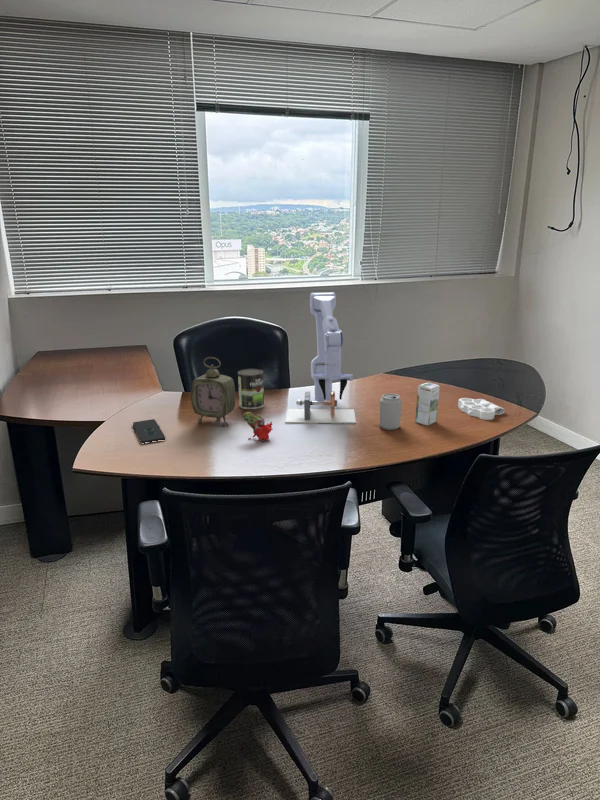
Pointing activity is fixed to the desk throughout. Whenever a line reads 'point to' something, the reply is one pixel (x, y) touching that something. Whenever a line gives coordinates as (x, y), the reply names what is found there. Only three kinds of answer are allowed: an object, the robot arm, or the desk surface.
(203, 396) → the tabletop clock
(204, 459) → the desk surface
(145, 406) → the desk surface
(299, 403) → the bolt with copper washer
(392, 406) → the can
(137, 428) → the black flat block
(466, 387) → the desk surface
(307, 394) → the square hole plate
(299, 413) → the base board
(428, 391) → the syrup box
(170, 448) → the desk surface
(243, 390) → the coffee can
